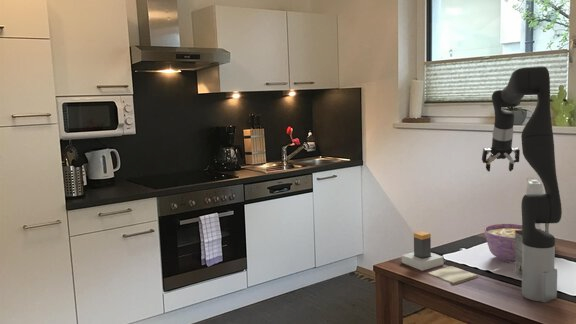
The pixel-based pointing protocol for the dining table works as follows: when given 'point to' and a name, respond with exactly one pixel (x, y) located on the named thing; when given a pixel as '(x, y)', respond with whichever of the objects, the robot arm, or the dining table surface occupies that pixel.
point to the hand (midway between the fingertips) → (499, 170)
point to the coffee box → (518, 252)
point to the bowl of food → (502, 240)
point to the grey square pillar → (422, 244)
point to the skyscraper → (536, 188)
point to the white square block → (422, 261)
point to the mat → (453, 275)
